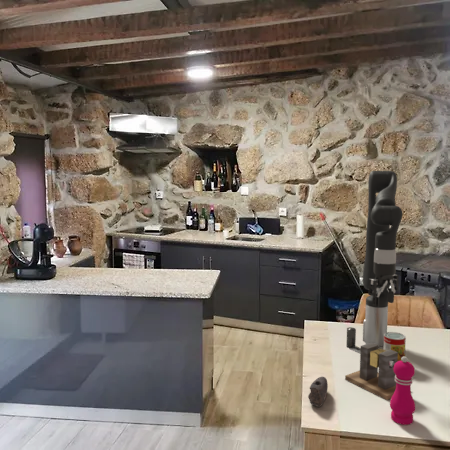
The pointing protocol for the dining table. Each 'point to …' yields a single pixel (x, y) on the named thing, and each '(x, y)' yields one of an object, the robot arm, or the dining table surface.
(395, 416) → the pepper mill
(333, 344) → the dining table surface
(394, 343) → the canned food
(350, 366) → the dining table surface
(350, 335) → the shaft
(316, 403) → the perforated stone tool
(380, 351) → the spacer
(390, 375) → the shaft stand
